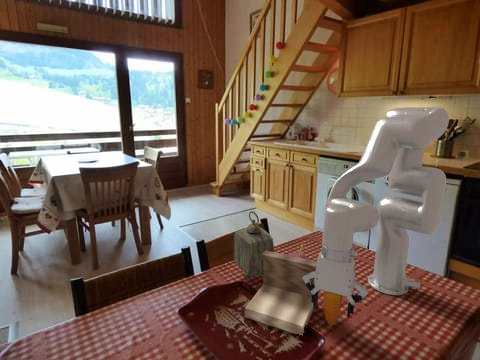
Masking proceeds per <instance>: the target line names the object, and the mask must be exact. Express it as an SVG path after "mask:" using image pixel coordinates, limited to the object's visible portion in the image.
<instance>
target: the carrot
mask: <svg viewBox="0 0 480 360" xmlns="http://www.w3.org/2000/svg"><path fill="white" fill-rule="evenodd" d="M343 297H344V296H343V295H339V294H335V293H331V292H327V291H323V306H322V307H323V313H324V314H323V315H324V317H325V320H326V322H327V324H328V325H329V327H332V326H334V324H335V323H336V322H337V320H338V318H339V315H340V312H341V308H342V303H343Z"/></svg>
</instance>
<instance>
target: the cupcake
mask: <svg viewBox="0 0 480 360" xmlns="http://www.w3.org/2000/svg"><path fill="white" fill-rule="evenodd" d="M303 247H304V243H301V246H300V250H299V252H298V251H297V252H294V251H293V252H290V253H288V254H287V255H289V256H294V257H298V258H303V259H308V260H310V259H309V258H308V256H307V255H305V253H303V249H304V248H303Z"/></svg>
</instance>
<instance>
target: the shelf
mask: <svg viewBox="0 0 480 360" xmlns="http://www.w3.org/2000/svg"><path fill="white" fill-rule="evenodd" d="M262 259H264V273H263V277H262V279H263V280H262V281H263V282H262V285H261V286H260V288H259V289H258V290H257V292H256V293H255V295H253V296H252V299H251V300H250V301H249V302H248V304H247V305H246V306H245V308H244V318H246V319H249V320H252V321H256V322H258V323H262V324H264V325H268V326H271V327H274V328H276V329H279V330H283V331H285V332H289V333H292V334H295V335H297V334H299V336H300V335H302V336H301V337H303V335H304V334H303V333H305V331H304V327H305V325H307V326H308V324H309V321H310V318H311V316H312V314H313V311H314V309H315V308H313V303H312V302H311V300H312V294H311V291H310V290H309V289H308V288H307V286H306V283H305V282H304V280H303V275H304V274H307V273H311V272H314V271H316V264H317V260H316V261H315V260H311V259H309V258H308V259H309V260H308V259H303V258H298V257H294V256H289V255H288V254H284V253H279V252H275V251H274V252H271V251H266V250H265V251H264V252H263V253H262ZM314 278H315V277H314ZM314 278H311V279H310V281H311V282H312V283H313V285H314Z"/></svg>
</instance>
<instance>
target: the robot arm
mask: <svg viewBox="0 0 480 360" xmlns="http://www.w3.org/2000/svg"><path fill="white" fill-rule="evenodd" d="M449 123H450V116H449V112H448V111H447V110H446V109H445V108H444V107H440V106H437V107H436V106H426V107H425V106H419V107H418V106H416V107H415V106H413V107H411V106H409V107H407V106H405V107H403V106H402V107H396V108H391V109H389V110H387V112H386V113H385V114H384V117H383V118H380V119H378V120H377V121H376V123H375V124H374V126H373V128H372V130H371V132H370V135H369V138H368V141H367V142H366V145H365V147H364V150H363V153H362V154H361V158H360V159H359V161H358V163H356V164H355V165H354V166H352V167H350V168H349V169H348V170H347V171H345V172H344V173H343V174H342V175H340V176H339V177H338V178H337V180H336V181H335V182H334V183H333V185H332V187H331V189H330V192H329V194H328V196H327V198H326V201H325V205H324V215H323V229H322V240H321V244H322V245H321V251H319V253H318V256H317V260H316V261H317V264H316V271H314V272H311V273H307V274H304V275H303V280H304V282H305V283H306V286H307V288H308V289H309V290H310V291H311V294H312V300H311V302H312V303H313V308H314V309H316V308H317V306H318V303H319V295H320V294H319V293H320V290H321V291H323V292H324V291H327V292H331V293H335V294H339V295H343V296H342V297H346V298H347V300H348V303H347V313H346V317H347V318H348V319H350V318H351V314H352V315H353V314H354V312H355V311H354V310H355V305H356V304H357V303H359V302H361V301H362V300H363V299H364V298H365V297H366V296H367V295H368V294H369V293H368V292H369V290H368V289H367V288H366V287H365V286H364V285H362V284H361V283H360V282H358V281H357V280H356V261H355V257H358V255H359V253H358V251H356V250H354V248H353V244H354V243H353V241H354V234H355V233H362V232H363V233H364V232H368V231H370V230H372V229H374V228H375V227H376V226H377V225H378V227H377V240H376V249H375V256H374V257H375V258H374V267H373V273H372V274H370V275H368V277H367V283H368V284H369V286H370V287H371V288H373V289H374V290H376V291H377V292H380V293H383V294H385V295H389V296H401V295H405V294H407V293H408V292H409V288H412V289H417V290H420V288H421V283H420V282H417V281H416V279H414V278H408V276H407V275H406V269H407V261H408V254H409V247H410V237H409V234H408V233H407V230H408V231H412V232H416V233H418V234H423V235H430V234H433V233H434V232H435V231H436V230H437V228H438V225H439V221H440V218H441V214H442V207H443V203H444V199H445V193H446V188H447V177H446V174H445V172H444V171H443V170H442V169H439V168H437V167H432V166H424V165H423V157H424V152H425V150H424V149H425V148H427V147H428V146H430V145H431V144H432V143H433V142H434V141H436V140H438V139H439V138H440V137H442V136H443V135H444V133H445V132H446V130H447V129H448V126H449ZM386 176H388V179H387V184H388V185H387V186H388V188H389V189H390V190H391V191H393V192H395V193H398V194H403V195H408V196H413V197H419V198H421V201H419V200H415V199H411V198H405V197H400V196H392V195H389V196H385V197H382V198H381V199H380V200H379V202H378V204H377V207H375V206H374V205H373V204H370V203H367V202H363V201H361V200H360V201H359V200H356V199H353V198H348V197H347V195H348V194H349V192H350V191H351V190H352V189H353V188H354V187H356V186H357V185H360V184H362V183H366V182H368V181H373V180H377V179H381V178H384V177H386ZM314 277H315V278H314ZM311 278H314V285H313V283H312V282H311V281H310V279H311ZM354 289H356V290H357V291H358V293H357V294H355V293H354Z"/></svg>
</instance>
